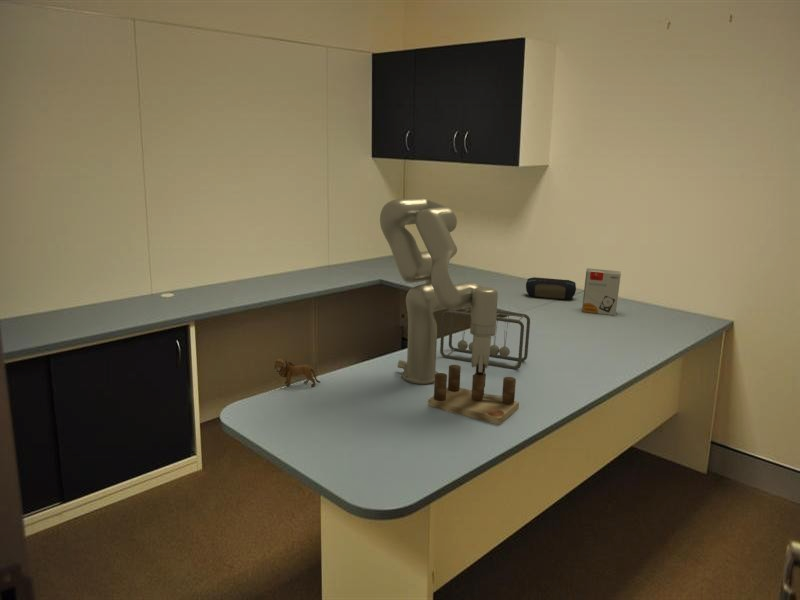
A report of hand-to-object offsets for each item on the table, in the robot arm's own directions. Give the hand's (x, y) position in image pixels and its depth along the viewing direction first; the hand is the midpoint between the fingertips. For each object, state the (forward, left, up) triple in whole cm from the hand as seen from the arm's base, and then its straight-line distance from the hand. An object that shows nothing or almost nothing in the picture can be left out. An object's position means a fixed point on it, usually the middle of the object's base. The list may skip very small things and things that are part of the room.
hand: (479, 386), depth 198 cm
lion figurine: (-53, -24, -4) cm, 58 cm away
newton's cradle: (-15, +35, -5) cm, 38 cm away
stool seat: (+1, -7, -4) cm, 8 cm away
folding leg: (+6, -4, -2) cm, 7 cm away
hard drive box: (+1, +130, -4) cm, 130 cm away
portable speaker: (-27, +144, -5) cm, 147 cm away
